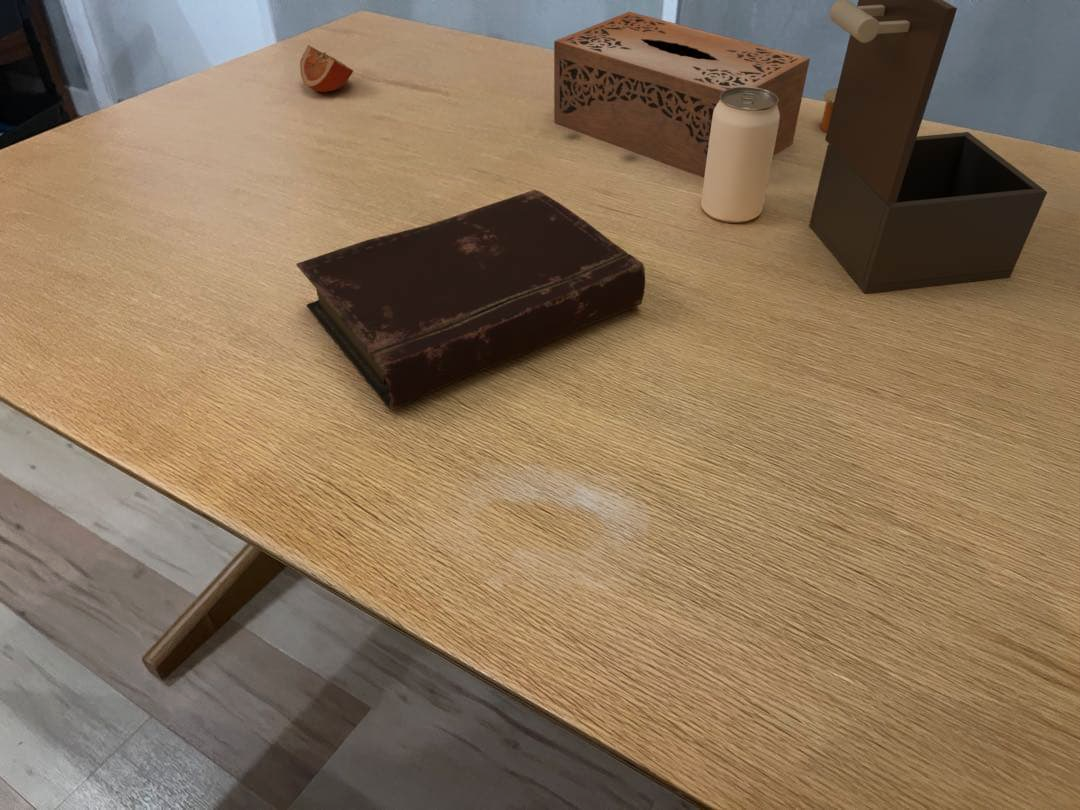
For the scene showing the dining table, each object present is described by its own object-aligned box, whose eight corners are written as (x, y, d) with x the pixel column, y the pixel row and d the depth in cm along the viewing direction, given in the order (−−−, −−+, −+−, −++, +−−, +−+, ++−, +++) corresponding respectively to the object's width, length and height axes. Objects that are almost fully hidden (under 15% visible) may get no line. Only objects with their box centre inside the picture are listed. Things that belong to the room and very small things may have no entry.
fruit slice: (294, 85, 115) (286, 48, 112) (338, 74, 118) (332, 37, 115) (320, 103, 110) (312, 65, 107) (365, 91, 113) (359, 54, 109)
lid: (876, -39, 68) (817, -36, 68) (957, 8, 59) (890, 12, 58) (832, 139, 79) (780, 143, 78) (896, 202, 69) (838, 207, 69)
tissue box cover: (554, 122, 104) (554, 40, 98) (624, 89, 112) (629, 11, 106) (726, 185, 91) (740, 96, 85) (792, 142, 99) (809, 58, 92)
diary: (645, 311, 74) (649, 263, 70) (394, 419, 64) (385, 370, 60) (531, 225, 85) (530, 181, 82) (304, 305, 75) (292, 258, 72)
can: (697, 221, 86) (712, 107, 78) (703, 192, 90) (717, 82, 82) (760, 227, 84) (782, 113, 76) (763, 198, 89) (784, 87, 81)
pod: (849, 117, 104) (857, 86, 102) (868, 135, 101) (876, 102, 98) (810, 121, 104) (817, 89, 101) (828, 138, 100) (835, 106, 97)
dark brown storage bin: (940, 212, 86) (968, 131, 80) (1010, 277, 77) (1048, 191, 71) (808, 225, 85) (827, 144, 79) (864, 293, 75) (890, 207, 70)
